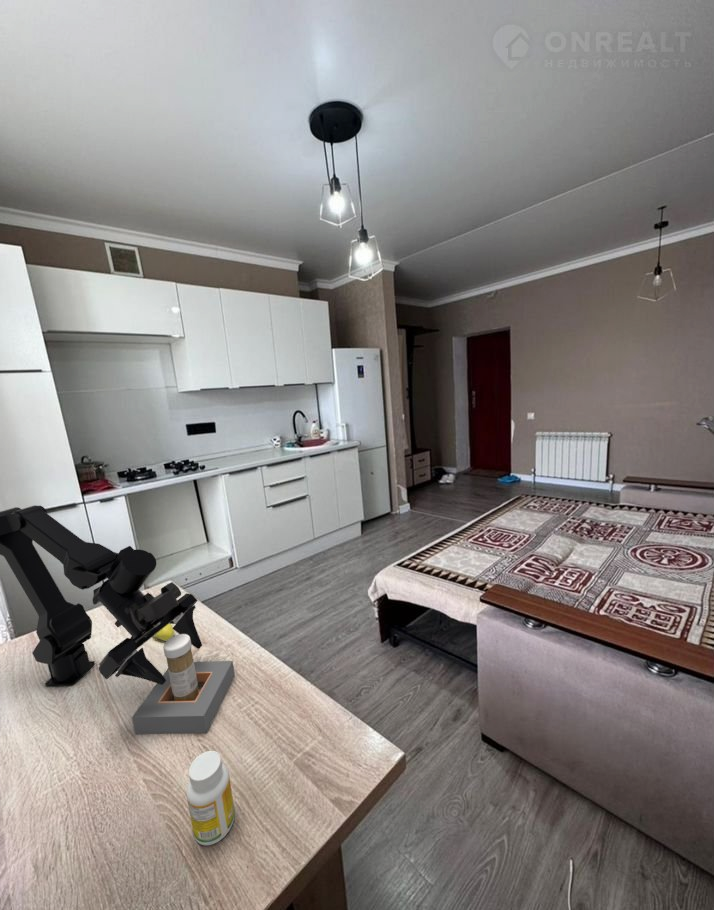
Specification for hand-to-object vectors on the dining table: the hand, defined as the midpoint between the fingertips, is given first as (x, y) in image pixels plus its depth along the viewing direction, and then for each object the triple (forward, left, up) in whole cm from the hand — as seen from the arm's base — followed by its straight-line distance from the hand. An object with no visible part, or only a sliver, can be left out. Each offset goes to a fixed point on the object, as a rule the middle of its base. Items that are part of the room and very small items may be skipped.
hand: (183, 663), depth 70 cm
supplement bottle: (+14, -20, -9) cm, 26 cm away
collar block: (0, 0, -8) cm, 8 cm away
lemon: (-17, +20, -9) cm, 28 cm away
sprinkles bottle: (0, 0, -9) cm, 9 cm away
